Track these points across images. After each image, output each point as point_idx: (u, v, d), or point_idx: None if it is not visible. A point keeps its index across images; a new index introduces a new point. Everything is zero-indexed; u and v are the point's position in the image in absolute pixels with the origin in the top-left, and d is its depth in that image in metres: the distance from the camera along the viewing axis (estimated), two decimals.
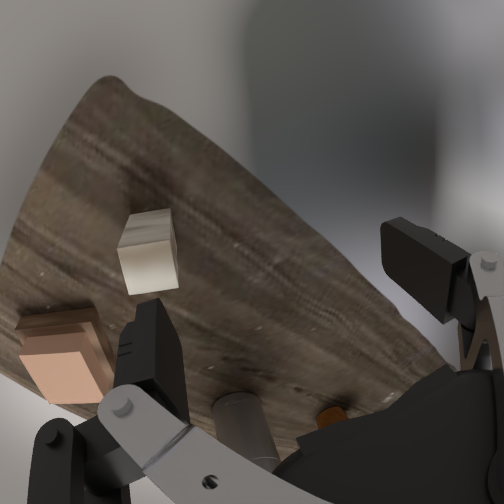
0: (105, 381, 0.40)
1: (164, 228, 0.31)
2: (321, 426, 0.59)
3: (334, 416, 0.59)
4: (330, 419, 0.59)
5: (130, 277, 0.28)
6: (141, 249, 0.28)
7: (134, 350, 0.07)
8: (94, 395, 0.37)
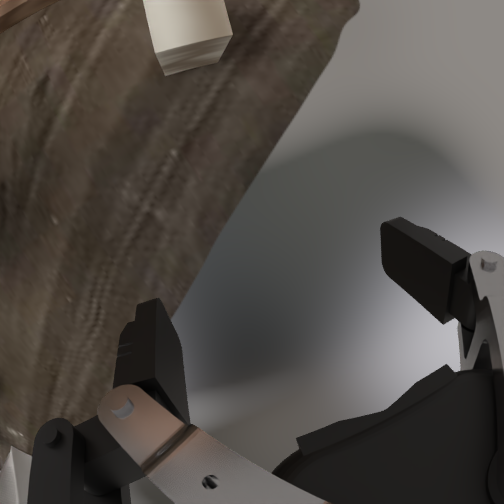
0: None
1: None
2: None
3: None
4: None
5: None
6: (216, 1, 0.15)
7: (134, 350, 0.07)
8: None
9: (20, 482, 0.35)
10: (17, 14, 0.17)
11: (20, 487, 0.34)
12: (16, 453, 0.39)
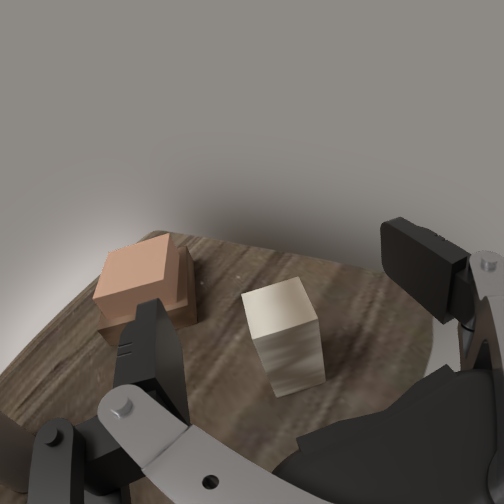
0: (112, 313, 0.37)
1: None
2: None
3: None
4: None
5: (264, 292, 0.26)
6: (300, 296, 0.25)
7: (134, 350, 0.07)
8: (104, 289, 0.37)
9: None
10: None
11: None
12: None
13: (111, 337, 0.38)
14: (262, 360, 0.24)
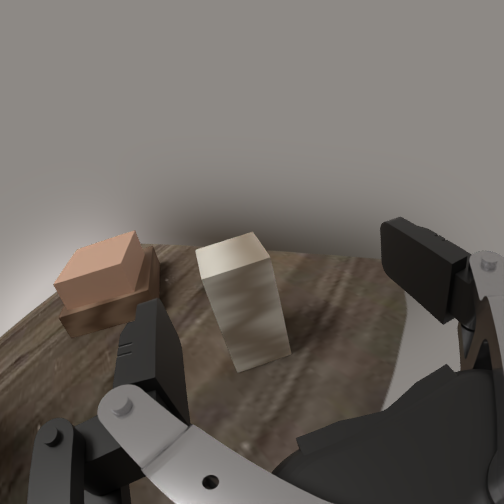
0: (71, 301, 0.35)
1: None
2: None
3: None
4: None
5: (218, 246, 0.26)
6: (254, 244, 0.25)
7: (134, 350, 0.07)
8: (65, 276, 0.35)
9: None
10: (110, 314, 0.35)
11: None
12: None
13: (72, 327, 0.35)
14: (215, 312, 0.23)
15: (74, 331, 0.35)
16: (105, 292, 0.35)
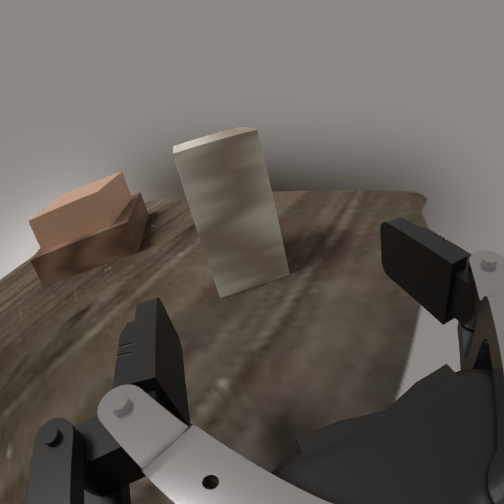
0: (46, 240, 0.31)
1: None
2: None
3: None
4: None
5: (199, 138, 0.21)
6: (240, 129, 0.20)
7: (134, 350, 0.07)
8: (42, 212, 0.30)
9: None
10: (84, 253, 0.31)
11: None
12: None
13: (44, 271, 0.30)
14: (189, 200, 0.18)
15: (46, 276, 0.31)
16: (81, 227, 0.31)
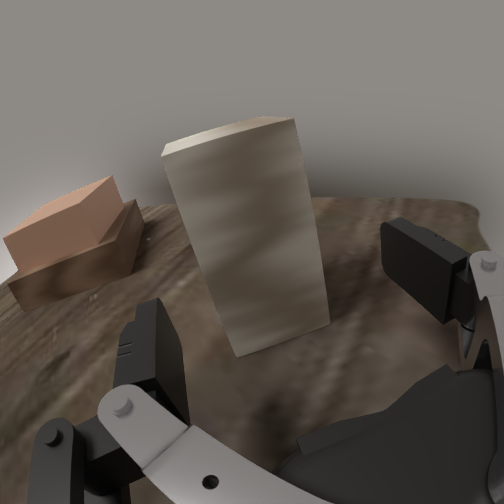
0: (24, 261, 0.25)
1: None
2: None
3: None
4: None
5: (202, 132, 0.15)
6: (263, 119, 0.13)
7: (134, 350, 0.07)
8: (18, 228, 0.24)
9: None
10: (67, 277, 0.25)
11: None
12: None
13: (23, 297, 0.25)
14: (189, 229, 0.12)
15: (26, 302, 0.25)
16: (62, 246, 0.25)
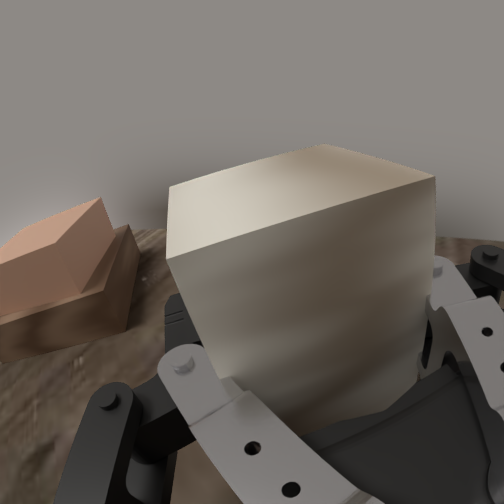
0: None
1: None
2: None
3: None
4: None
5: (234, 171, 0.09)
6: (346, 157, 0.08)
7: (186, 315, 0.08)
8: None
9: None
10: (47, 330, 0.19)
11: None
12: None
13: None
14: None
15: (3, 353, 0.19)
16: (38, 293, 0.19)
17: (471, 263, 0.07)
